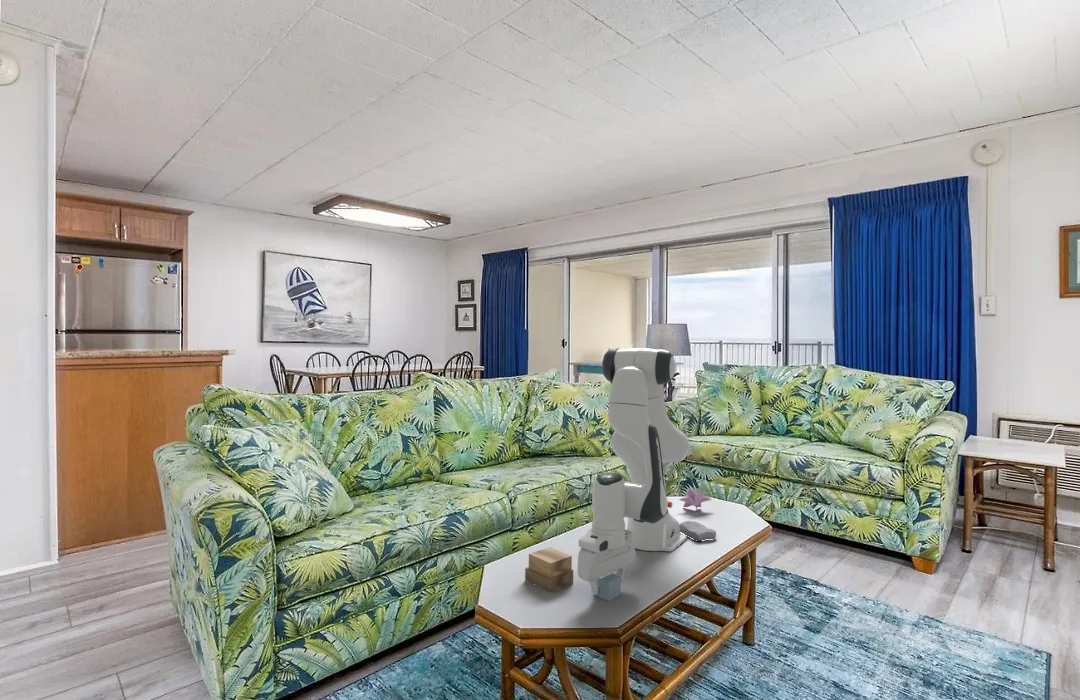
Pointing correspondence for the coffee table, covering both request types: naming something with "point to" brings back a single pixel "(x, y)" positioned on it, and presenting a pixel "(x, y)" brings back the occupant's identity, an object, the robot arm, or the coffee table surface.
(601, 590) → the slate cube
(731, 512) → the coffee table surface
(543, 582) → the walnut block
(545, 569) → the teak block
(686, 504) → the lily
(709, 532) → the stone block
